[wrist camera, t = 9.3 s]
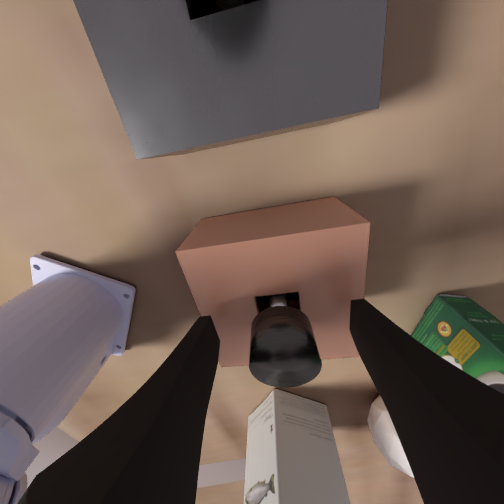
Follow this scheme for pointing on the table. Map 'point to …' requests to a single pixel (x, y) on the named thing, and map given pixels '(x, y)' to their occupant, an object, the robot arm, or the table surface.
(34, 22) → the table surface
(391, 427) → the ornament
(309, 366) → the plunger
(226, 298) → the pot
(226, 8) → the plunger
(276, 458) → the supplement box
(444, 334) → the coffee box
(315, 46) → the pot
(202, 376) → the robot arm
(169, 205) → the table surface
